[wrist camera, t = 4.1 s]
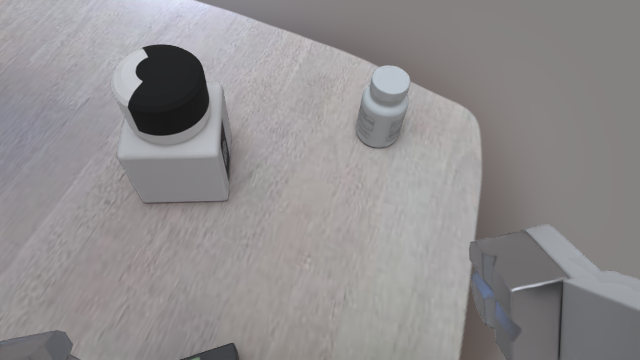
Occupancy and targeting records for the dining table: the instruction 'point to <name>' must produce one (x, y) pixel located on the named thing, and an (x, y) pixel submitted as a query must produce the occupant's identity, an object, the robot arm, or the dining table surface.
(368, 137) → the pill bottle
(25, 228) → the dining table surface
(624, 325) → the robot arm
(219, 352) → the scale
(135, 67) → the container
